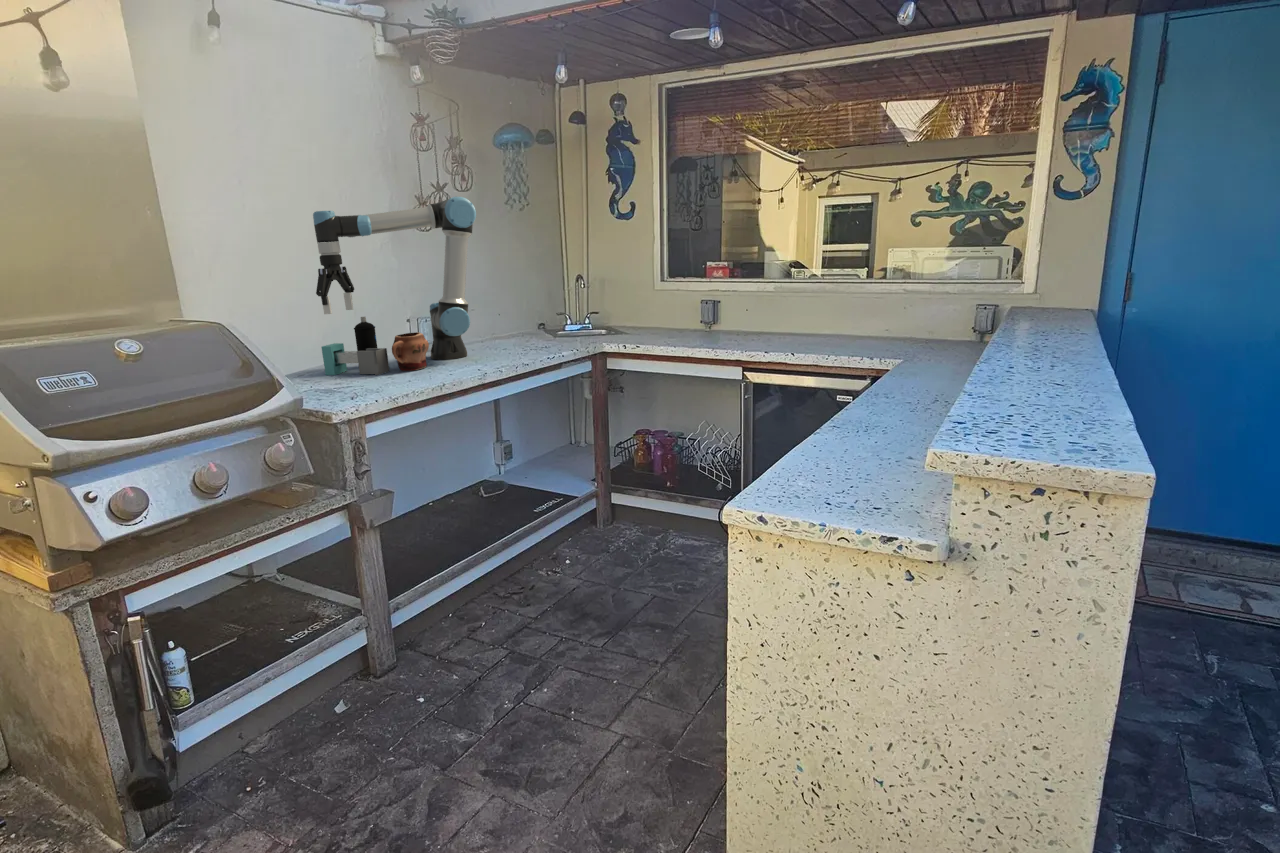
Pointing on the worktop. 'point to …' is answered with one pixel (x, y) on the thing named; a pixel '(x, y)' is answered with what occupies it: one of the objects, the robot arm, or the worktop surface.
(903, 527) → the worktop surface
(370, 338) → the aerosol can
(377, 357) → the sleeve
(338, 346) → the socket block
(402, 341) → the decorative planter
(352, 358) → the grey square peg
